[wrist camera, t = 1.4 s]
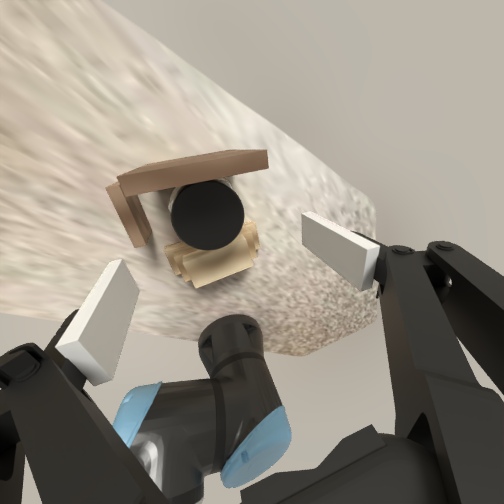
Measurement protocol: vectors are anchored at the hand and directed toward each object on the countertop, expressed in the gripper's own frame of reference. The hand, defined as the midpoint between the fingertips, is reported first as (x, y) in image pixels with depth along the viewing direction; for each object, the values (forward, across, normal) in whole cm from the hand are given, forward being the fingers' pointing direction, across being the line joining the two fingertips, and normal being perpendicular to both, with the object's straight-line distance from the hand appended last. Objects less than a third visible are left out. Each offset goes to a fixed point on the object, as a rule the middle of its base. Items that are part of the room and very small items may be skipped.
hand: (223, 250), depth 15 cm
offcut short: (+16, 0, +10) cm, 19 cm away
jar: (+21, 0, 0) cm, 21 cm away
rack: (+21, +2, -1) cm, 21 cm away
